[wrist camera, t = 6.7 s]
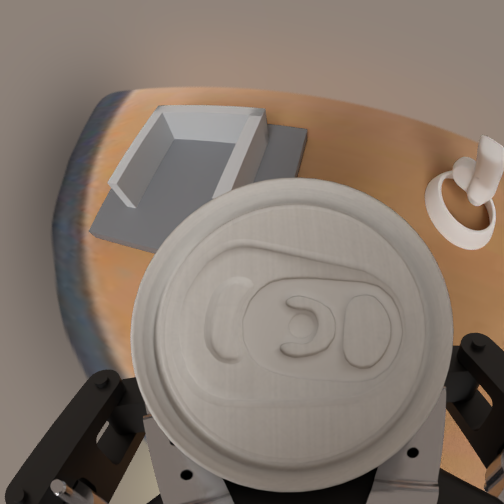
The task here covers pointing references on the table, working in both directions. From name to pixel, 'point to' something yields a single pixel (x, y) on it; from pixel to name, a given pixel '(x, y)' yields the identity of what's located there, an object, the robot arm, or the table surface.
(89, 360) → the table surface
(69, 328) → the table surface
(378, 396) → the beer can
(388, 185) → the table surface
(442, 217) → the hook
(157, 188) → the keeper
